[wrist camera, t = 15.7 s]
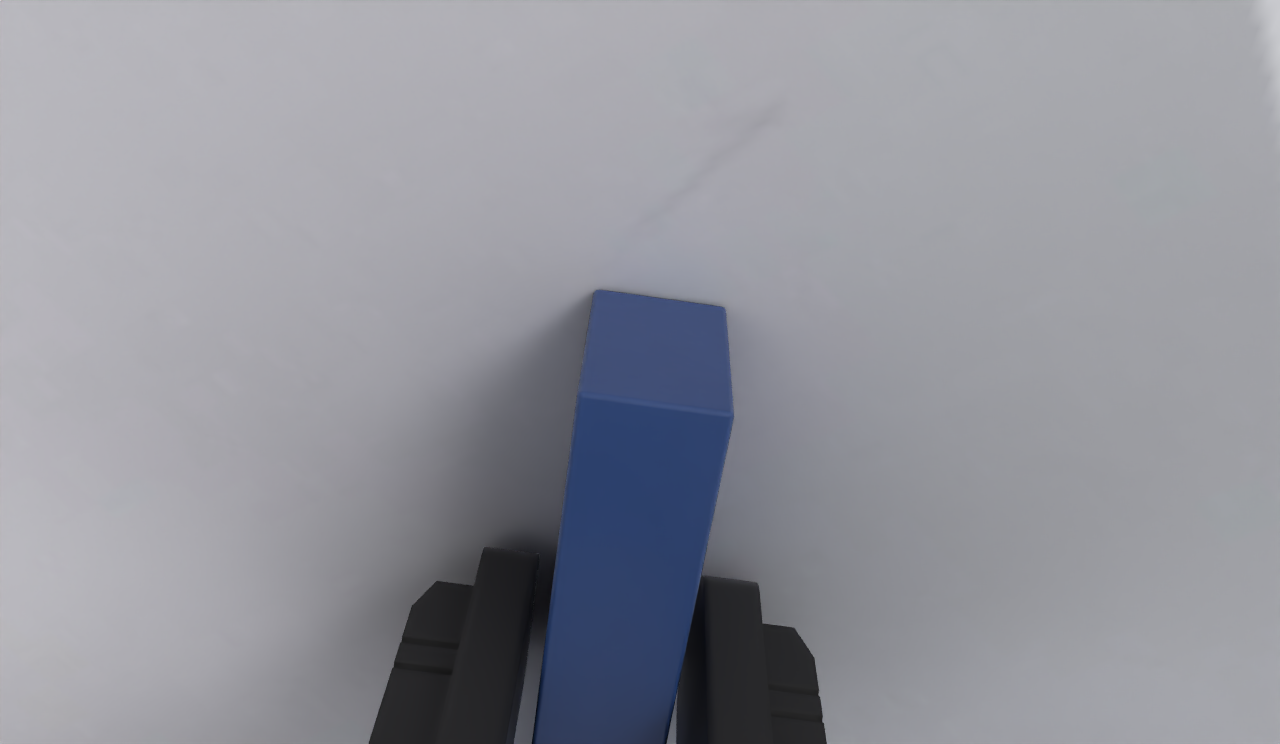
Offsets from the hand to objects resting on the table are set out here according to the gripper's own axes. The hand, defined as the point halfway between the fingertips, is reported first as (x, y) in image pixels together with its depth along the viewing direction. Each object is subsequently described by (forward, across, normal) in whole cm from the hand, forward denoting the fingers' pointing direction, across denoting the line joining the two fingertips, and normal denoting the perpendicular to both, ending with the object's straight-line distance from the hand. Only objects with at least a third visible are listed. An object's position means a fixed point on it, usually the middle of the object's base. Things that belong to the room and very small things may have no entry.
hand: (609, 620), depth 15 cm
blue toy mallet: (0, 0, +2) cm, 2 cm away
